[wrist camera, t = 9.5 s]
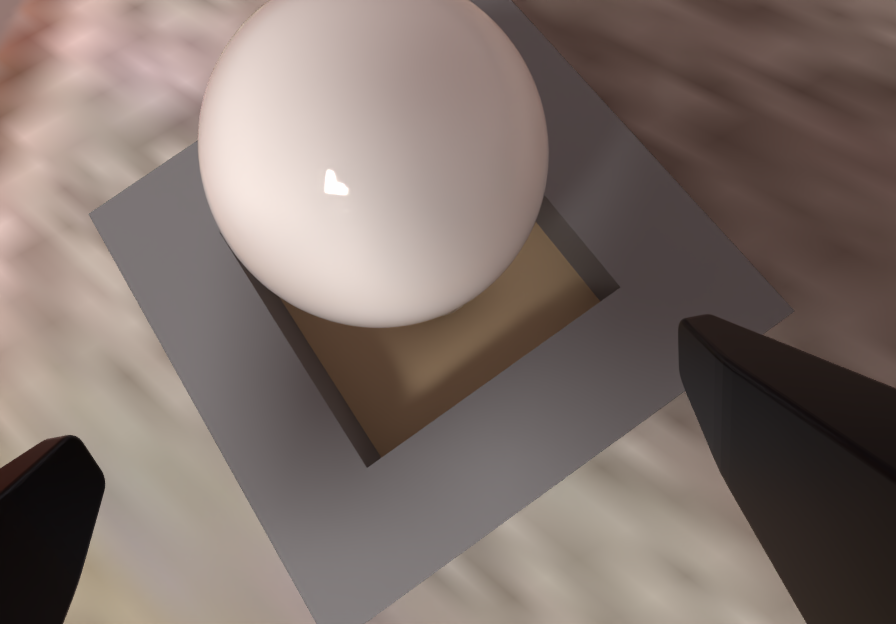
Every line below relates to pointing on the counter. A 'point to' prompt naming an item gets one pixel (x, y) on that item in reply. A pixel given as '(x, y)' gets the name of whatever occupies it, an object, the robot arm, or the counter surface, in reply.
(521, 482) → the holder
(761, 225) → the counter surface
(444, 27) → the lightbulb
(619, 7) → the counter surface
